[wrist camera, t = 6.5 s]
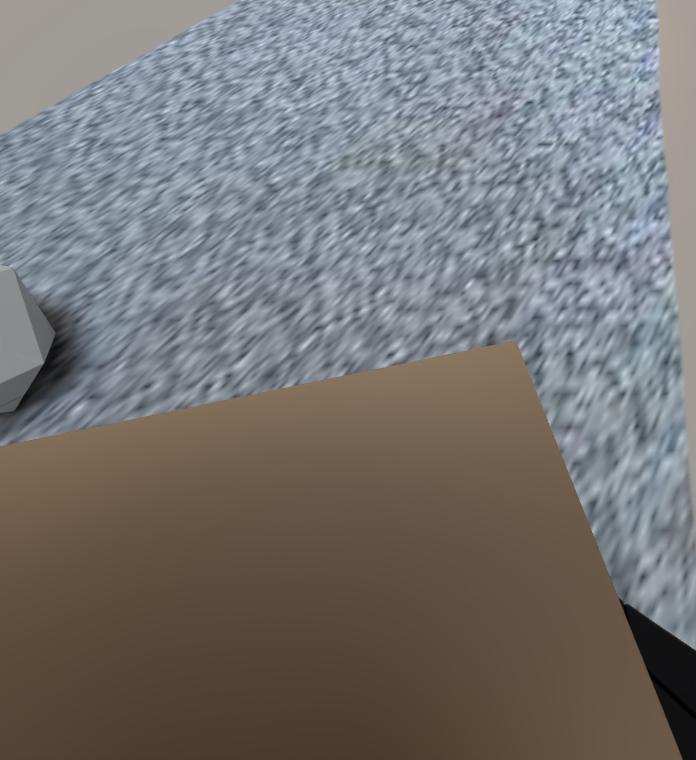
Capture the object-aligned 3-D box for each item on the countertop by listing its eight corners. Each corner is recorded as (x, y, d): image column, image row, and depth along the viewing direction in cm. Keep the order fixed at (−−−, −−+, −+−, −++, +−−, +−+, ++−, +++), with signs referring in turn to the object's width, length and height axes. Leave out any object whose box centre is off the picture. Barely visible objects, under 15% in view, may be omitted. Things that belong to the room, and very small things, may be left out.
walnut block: (438, 628, 13) (959, 1454, 2) (284, 663, 13) (-337, 1844, 1) (399, 471, 15) (515, 340, 3) (264, 499, 15) (-77, 462, 3)
